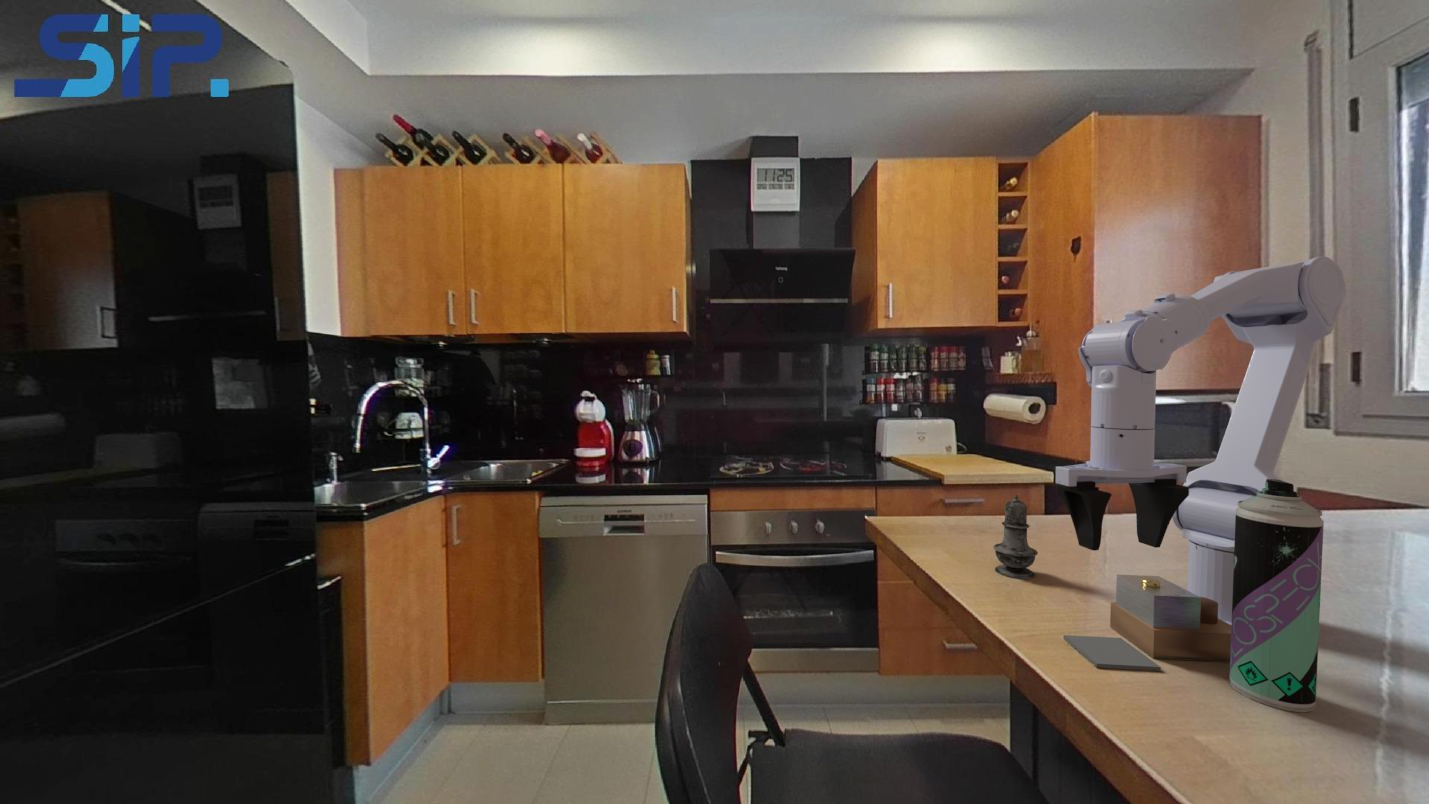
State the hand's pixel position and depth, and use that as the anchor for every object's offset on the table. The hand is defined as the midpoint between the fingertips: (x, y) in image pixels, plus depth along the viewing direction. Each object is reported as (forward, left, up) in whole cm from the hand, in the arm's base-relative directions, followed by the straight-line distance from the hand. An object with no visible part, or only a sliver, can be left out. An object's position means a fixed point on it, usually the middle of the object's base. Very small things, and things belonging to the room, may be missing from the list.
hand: (1119, 546), depth 60 cm
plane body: (-5, +2, -10) cm, 11 cm away
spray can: (-7, +11, -10) cm, 16 cm away
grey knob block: (-3, +2, -7) cm, 8 cm away
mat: (+4, +5, -10) cm, 12 cm away
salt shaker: (+3, -19, -11) cm, 22 cm away
